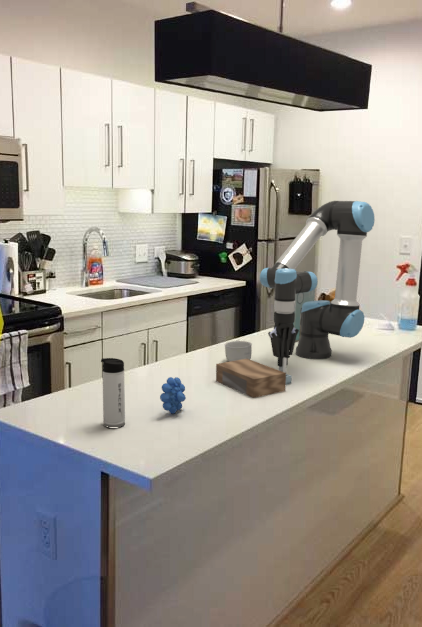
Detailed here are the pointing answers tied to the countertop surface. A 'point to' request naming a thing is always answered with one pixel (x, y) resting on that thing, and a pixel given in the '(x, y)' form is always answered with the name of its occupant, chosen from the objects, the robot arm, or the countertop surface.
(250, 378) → the shelf
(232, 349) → the teacup
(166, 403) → the grapes
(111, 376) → the travel mug
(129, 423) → the countertop surface
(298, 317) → the device
